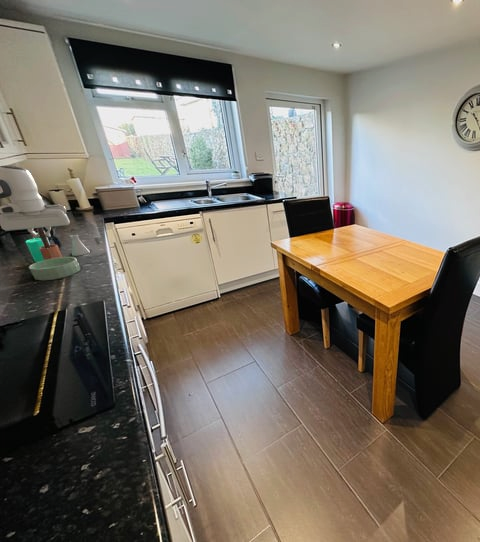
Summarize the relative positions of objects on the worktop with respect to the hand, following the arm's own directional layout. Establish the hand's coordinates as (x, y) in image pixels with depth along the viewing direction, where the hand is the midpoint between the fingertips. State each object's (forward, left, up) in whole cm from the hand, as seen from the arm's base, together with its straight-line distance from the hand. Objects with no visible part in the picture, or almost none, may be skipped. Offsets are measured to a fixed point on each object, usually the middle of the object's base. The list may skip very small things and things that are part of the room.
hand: (43, 237), depth 126 cm
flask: (+8, +12, -14) cm, 20 cm away
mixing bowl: (+2, -15, -14) cm, 20 cm away
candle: (-5, +10, -14) cm, 18 cm away
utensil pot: (0, 0, -14) cm, 14 cm away
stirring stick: (0, 0, -12) cm, 12 cm away
